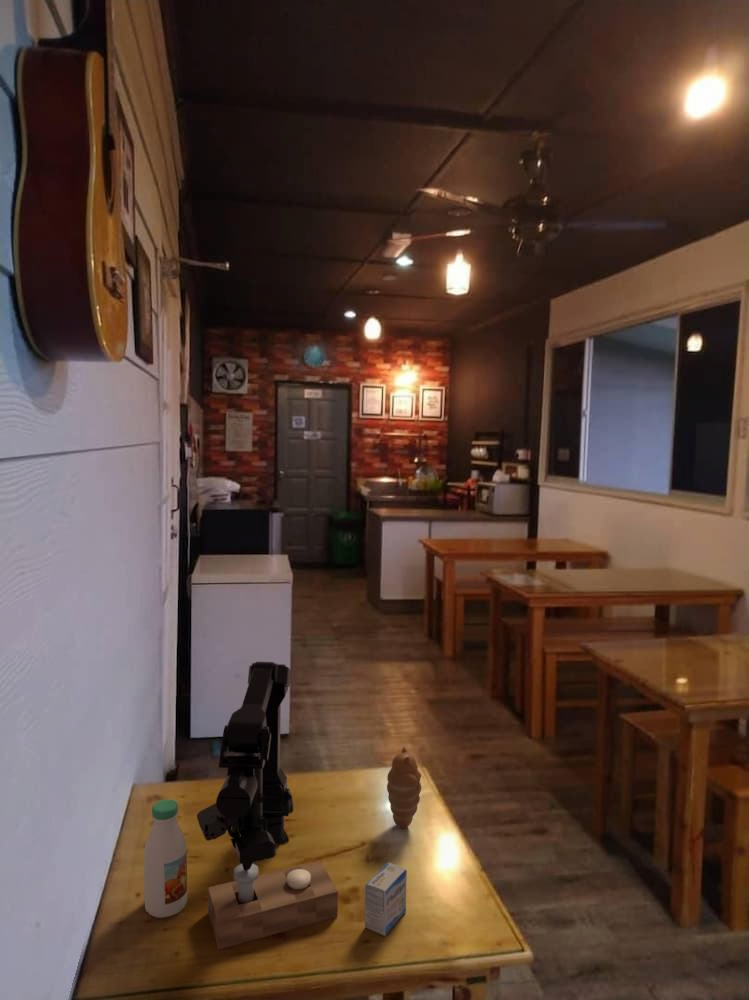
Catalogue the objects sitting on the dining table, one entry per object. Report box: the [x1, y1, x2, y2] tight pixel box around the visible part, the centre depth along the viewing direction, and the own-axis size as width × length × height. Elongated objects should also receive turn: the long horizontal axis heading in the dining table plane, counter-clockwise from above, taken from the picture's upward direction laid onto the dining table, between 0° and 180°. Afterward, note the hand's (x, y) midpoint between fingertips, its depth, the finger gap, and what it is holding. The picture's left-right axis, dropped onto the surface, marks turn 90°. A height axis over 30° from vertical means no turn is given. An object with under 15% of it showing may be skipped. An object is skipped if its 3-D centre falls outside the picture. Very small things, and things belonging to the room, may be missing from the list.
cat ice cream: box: [386, 746, 422, 829], centre depth 157 cm, size 9×8×18 cm
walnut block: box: [207, 860, 339, 951], centre depth 129 cm, size 10×22×5 cm, turn 113°
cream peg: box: [287, 869, 311, 891], centre depth 130 cm, size 4×4×6 cm
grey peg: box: [233, 863, 259, 904], centre depth 126 cm, size 4×4×6 cm
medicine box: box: [364, 862, 408, 937], centre depth 128 cm, size 8×4×9 cm, turn 148°
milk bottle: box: [143, 799, 188, 919], centre depth 130 cm, size 8×8×20 cm
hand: (246, 869), depth 126 cm, fingers closed
